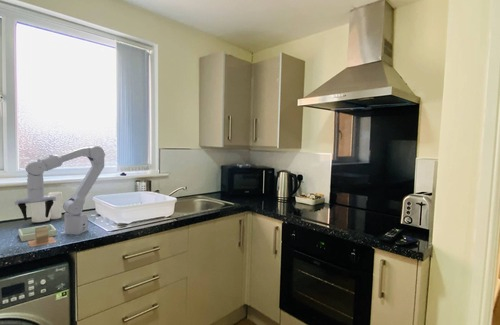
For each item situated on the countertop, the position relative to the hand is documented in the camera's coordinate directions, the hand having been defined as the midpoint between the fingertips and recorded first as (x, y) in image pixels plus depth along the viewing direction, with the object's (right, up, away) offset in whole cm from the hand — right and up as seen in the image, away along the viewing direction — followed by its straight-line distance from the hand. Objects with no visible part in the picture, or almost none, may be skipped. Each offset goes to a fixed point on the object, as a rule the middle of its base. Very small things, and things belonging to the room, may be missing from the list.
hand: (36, 218), depth 124 cm
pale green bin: (-3, -9, +5) cm, 11 cm away
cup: (-18, -8, +27) cm, 33 cm away
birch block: (+5, -9, -4) cm, 11 cm away
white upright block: (-16, -7, +35) cm, 40 cm away
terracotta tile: (+6, -10, -4) cm, 12 cm away
